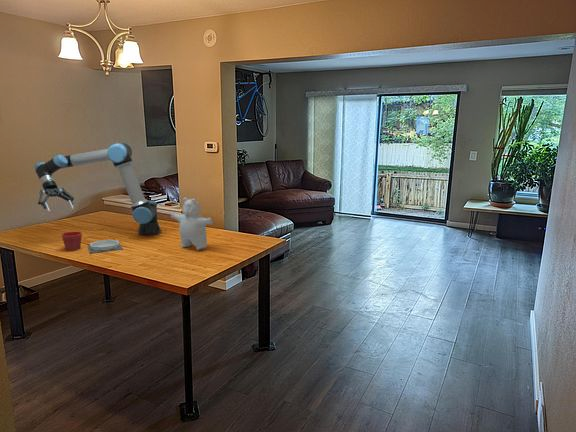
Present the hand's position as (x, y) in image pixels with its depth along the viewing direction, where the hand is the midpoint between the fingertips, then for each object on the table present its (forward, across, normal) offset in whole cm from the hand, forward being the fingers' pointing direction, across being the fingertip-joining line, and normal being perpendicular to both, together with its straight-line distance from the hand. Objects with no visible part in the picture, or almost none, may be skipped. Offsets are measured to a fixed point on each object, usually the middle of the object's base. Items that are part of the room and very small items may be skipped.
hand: (61, 210), depth 244 cm
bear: (+59, -50, +29) cm, 83 cm away
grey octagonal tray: (+31, -15, +1) cm, 35 cm away
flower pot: (+24, -1, -8) cm, 25 cm away
